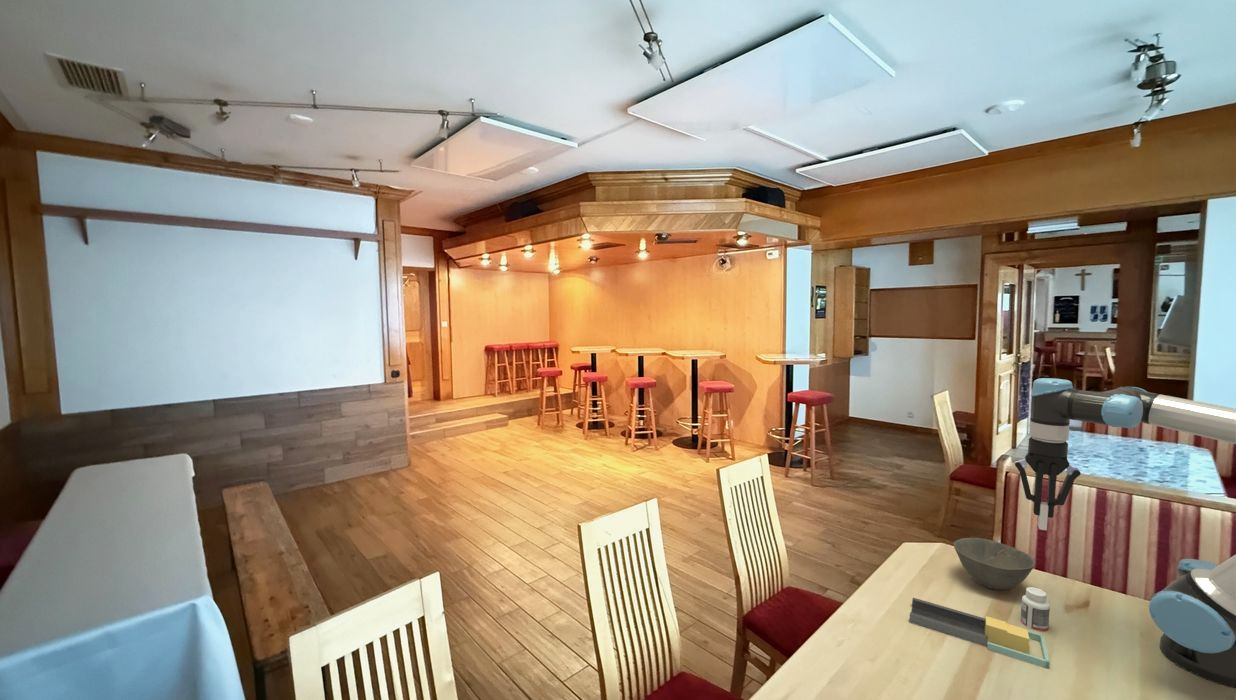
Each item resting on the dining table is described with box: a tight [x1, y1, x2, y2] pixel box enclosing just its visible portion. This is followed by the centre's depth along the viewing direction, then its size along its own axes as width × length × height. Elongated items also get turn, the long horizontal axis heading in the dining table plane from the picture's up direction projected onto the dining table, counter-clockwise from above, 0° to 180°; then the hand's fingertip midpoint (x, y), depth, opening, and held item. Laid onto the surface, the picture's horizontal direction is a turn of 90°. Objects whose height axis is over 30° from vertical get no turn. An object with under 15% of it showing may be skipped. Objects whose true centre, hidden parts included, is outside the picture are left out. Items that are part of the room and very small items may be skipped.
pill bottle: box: [1020, 586, 1051, 632], centre depth 123 cm, size 5×5×10 cm
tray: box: [986, 630, 1051, 670], centre depth 116 cm, size 11×11×2 cm
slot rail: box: [908, 597, 989, 647], centre depth 124 cm, size 16×9×3 cm, turn 54°
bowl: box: [953, 537, 1036, 591], centre depth 142 cm, size 19×19×10 cm
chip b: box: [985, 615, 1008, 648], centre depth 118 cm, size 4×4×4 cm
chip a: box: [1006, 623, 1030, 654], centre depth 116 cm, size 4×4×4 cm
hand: (1042, 527), depth 125 cm, fingers closed
